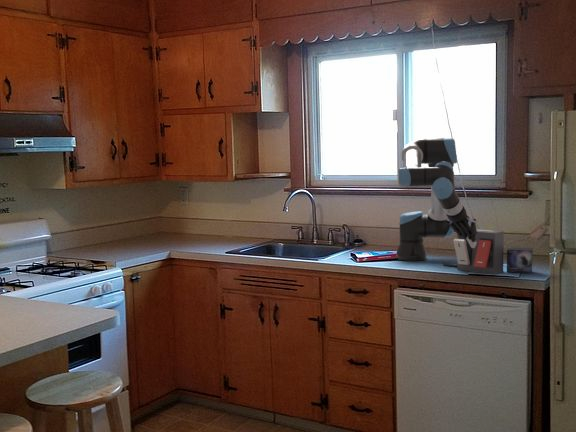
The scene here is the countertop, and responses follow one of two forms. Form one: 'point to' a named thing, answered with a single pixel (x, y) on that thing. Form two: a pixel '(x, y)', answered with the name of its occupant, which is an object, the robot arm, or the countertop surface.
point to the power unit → (494, 255)
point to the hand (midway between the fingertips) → (474, 245)
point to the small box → (519, 260)
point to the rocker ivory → (461, 251)
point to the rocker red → (482, 254)
